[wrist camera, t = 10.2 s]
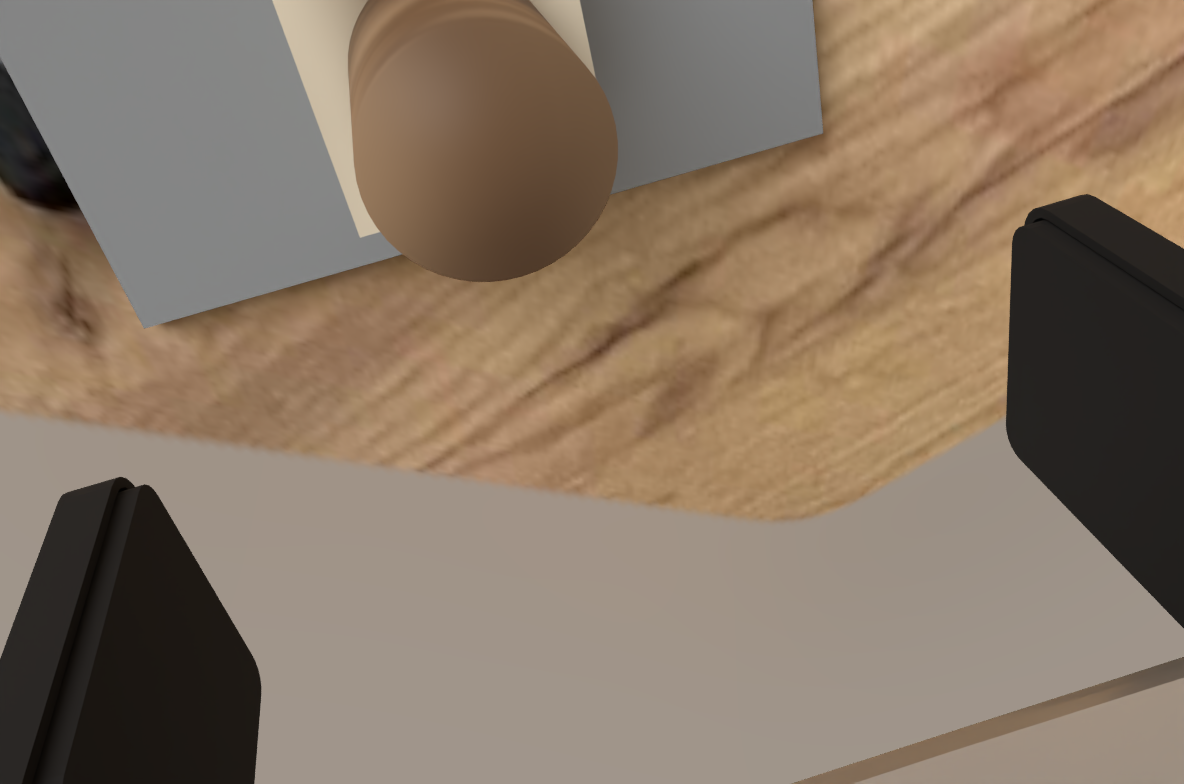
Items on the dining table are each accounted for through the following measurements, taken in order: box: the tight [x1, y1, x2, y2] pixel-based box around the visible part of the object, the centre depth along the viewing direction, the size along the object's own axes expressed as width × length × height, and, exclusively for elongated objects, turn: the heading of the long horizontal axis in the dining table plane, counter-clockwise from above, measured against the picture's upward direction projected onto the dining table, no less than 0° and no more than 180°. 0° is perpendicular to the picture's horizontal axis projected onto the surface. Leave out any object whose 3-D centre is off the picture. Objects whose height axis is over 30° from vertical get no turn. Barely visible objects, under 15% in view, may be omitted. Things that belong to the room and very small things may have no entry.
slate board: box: [0, 0, 823, 328], centre depth 29 cm, size 22×12×1 cm, turn 103°
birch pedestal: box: [272, 0, 596, 238], centre depth 27 cm, size 7×7×4 cm
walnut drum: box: [348, 0, 618, 282], centre depth 22 cm, size 5×5×7 cm
